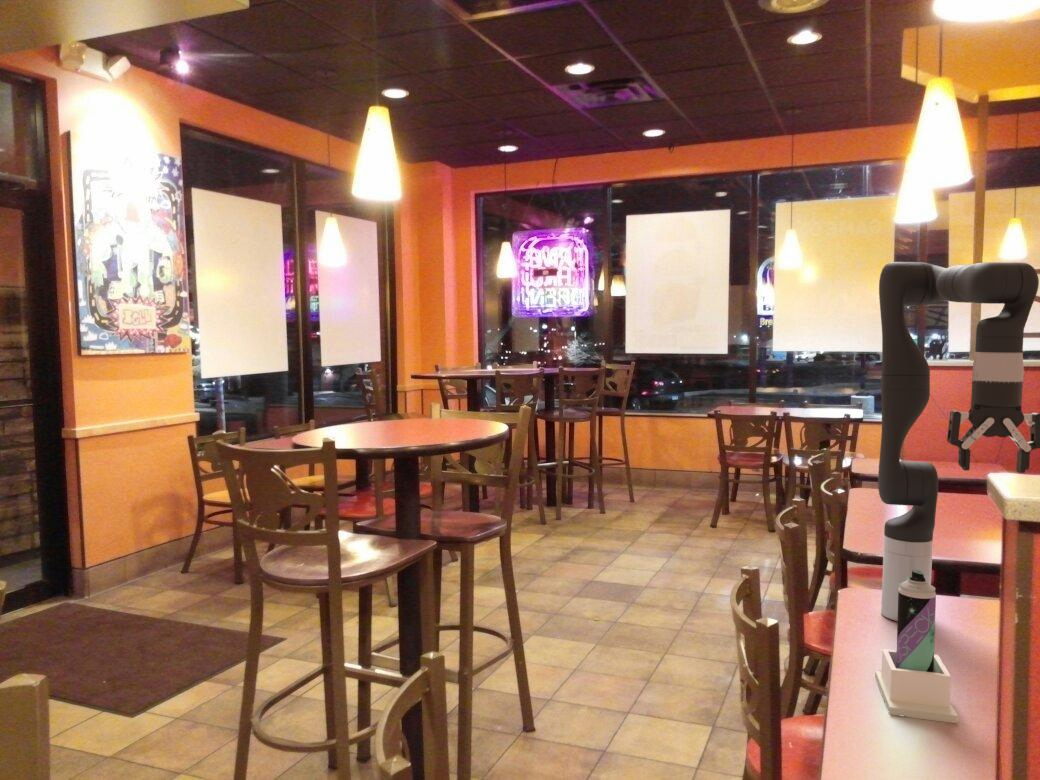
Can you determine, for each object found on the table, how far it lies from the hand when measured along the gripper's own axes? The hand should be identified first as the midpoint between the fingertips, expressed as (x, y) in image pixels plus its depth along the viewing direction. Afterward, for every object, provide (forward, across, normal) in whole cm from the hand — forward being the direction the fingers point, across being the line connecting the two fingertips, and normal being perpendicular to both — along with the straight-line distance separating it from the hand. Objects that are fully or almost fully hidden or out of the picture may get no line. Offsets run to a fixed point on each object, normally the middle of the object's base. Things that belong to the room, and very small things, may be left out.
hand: (992, 471), depth 136 cm
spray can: (+35, +14, +15) cm, 41 cm away
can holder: (+36, +14, +15) cm, 42 cm away
